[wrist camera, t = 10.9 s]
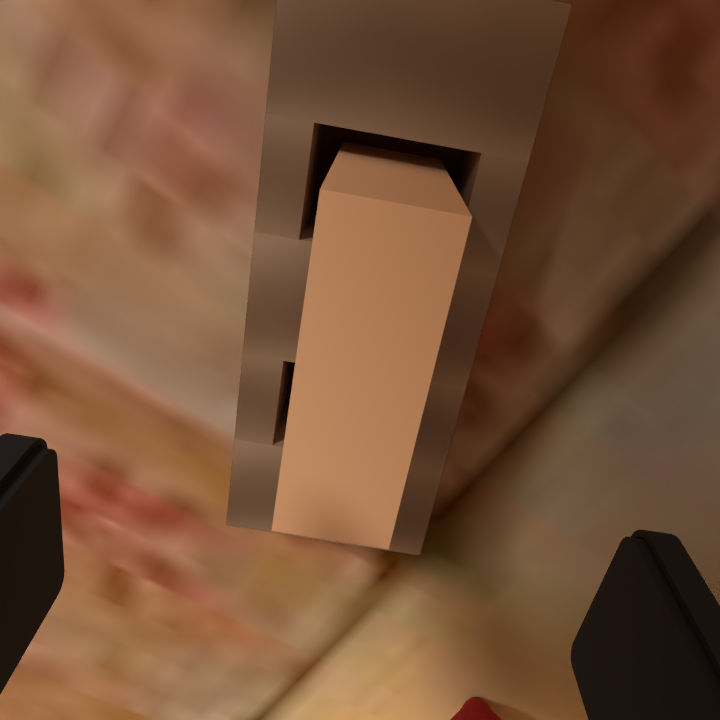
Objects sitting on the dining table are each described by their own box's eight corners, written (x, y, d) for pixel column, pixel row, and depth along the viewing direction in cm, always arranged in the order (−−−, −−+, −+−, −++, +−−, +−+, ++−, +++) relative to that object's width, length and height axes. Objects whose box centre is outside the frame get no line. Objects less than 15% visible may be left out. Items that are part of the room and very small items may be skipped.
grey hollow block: (298, -35, 20) (281, -53, 17) (542, 12, 20) (572, 4, 17) (243, 473, 29) (226, 525, 25) (415, 501, 29) (419, 555, 26)
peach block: (343, 141, 22) (319, 188, 14) (440, 159, 22) (472, 216, 14) (306, 386, 26) (271, 530, 18) (387, 400, 27) (388, 549, 18)
